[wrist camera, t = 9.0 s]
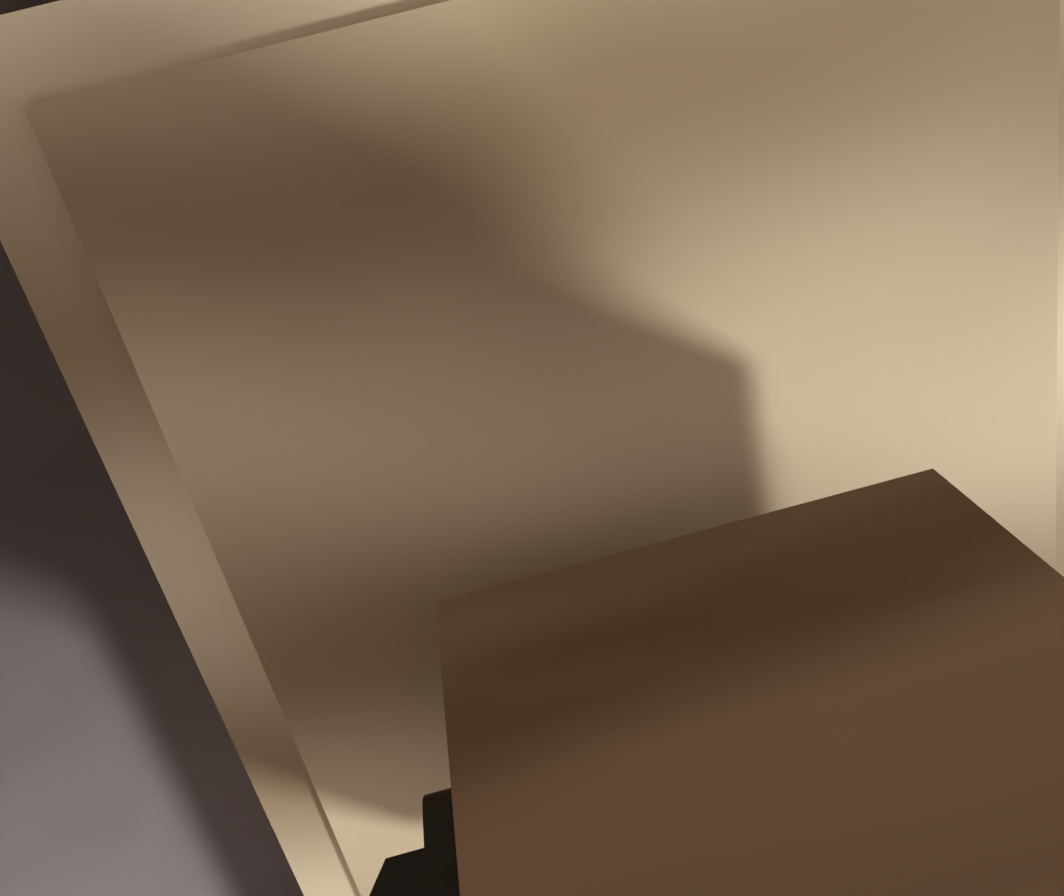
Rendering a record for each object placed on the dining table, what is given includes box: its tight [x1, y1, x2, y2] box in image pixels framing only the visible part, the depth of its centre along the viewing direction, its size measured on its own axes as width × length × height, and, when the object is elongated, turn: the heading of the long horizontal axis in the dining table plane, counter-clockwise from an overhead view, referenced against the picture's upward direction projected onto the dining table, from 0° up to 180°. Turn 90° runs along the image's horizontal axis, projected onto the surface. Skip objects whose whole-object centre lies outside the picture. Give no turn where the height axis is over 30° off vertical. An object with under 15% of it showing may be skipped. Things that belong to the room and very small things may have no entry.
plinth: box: [0, 0, 1064, 896], centre depth 14 cm, size 18×12×3 cm, turn 13°
